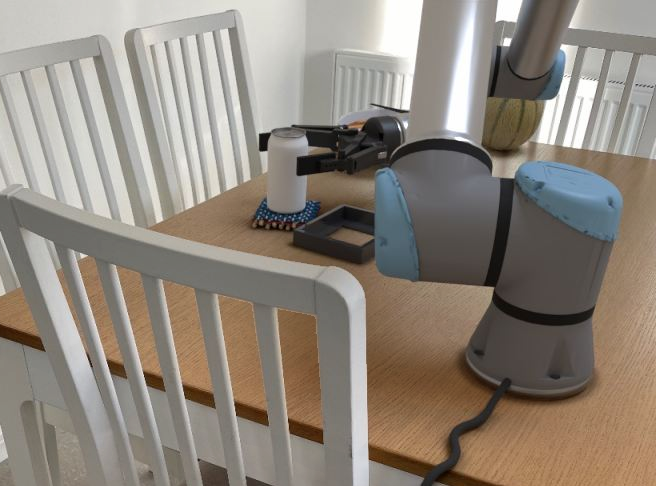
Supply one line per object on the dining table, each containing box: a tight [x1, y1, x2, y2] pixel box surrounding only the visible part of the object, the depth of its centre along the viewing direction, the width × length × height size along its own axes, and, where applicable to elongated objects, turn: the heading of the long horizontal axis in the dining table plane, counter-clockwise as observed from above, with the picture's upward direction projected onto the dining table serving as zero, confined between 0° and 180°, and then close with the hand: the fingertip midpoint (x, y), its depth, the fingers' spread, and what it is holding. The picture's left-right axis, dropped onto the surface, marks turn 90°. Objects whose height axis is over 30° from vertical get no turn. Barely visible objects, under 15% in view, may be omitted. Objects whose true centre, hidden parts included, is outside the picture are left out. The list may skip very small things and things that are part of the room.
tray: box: [292, 203, 375, 265], centre depth 132 cm, size 15×13×2 cm
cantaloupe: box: [481, 97, 545, 151], centre depth 168 cm, size 15×15×15 cm
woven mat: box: [251, 196, 322, 231], centre depth 139 cm, size 10×11×2 cm
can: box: [266, 126, 309, 214], centre depth 134 cm, size 6×6×12 cm
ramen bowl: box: [337, 102, 410, 168], centre depth 162 cm, size 25×23×8 cm
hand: (277, 154), depth 131 cm, fingers open, 13 cm apart
